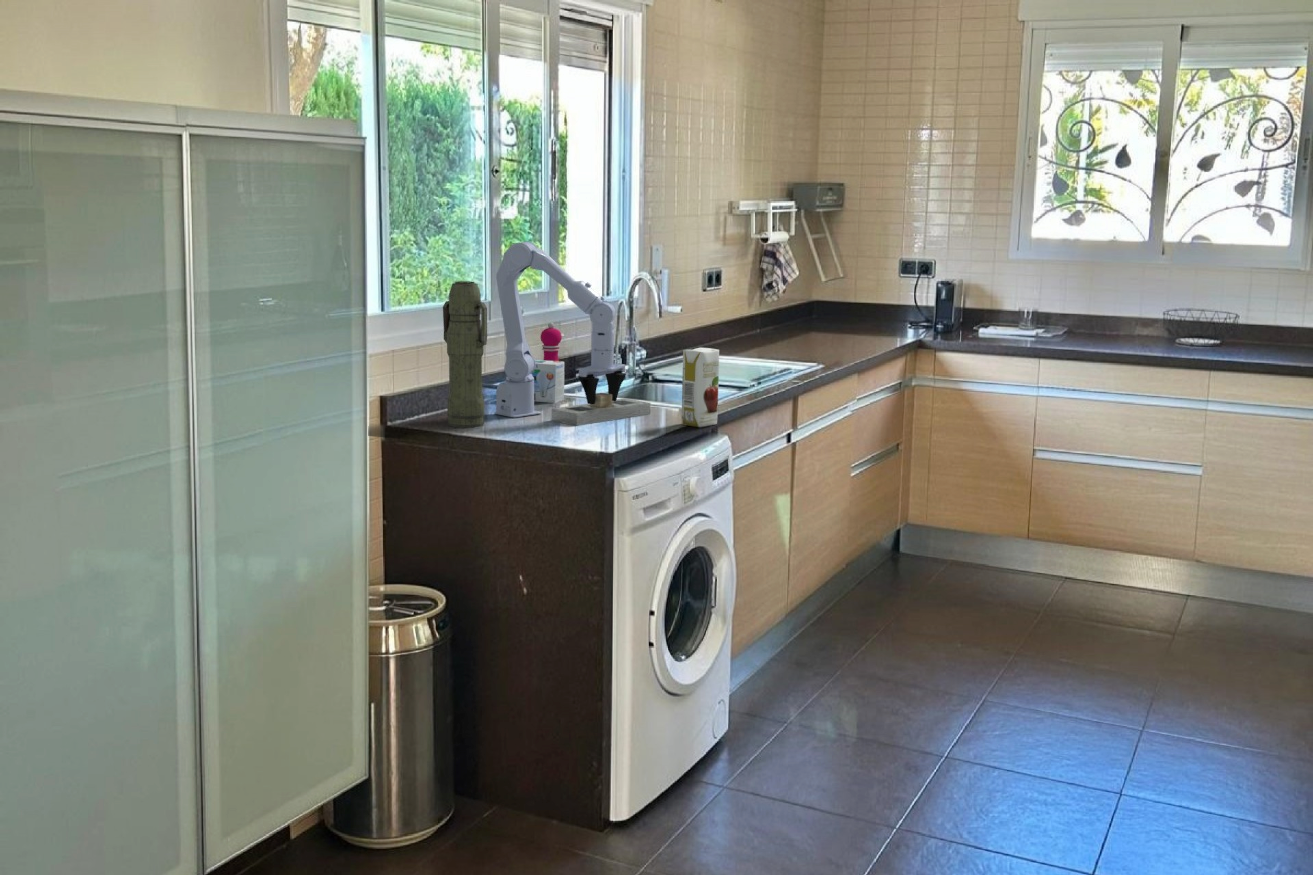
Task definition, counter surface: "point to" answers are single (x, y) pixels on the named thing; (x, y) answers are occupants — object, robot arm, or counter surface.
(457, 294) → the thermos
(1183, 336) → the counter surface
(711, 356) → the juice carton
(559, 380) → the light bulb box
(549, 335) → the pepper mill
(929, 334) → the counter surface
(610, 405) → the peg
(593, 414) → the rail
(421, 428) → the counter surface
